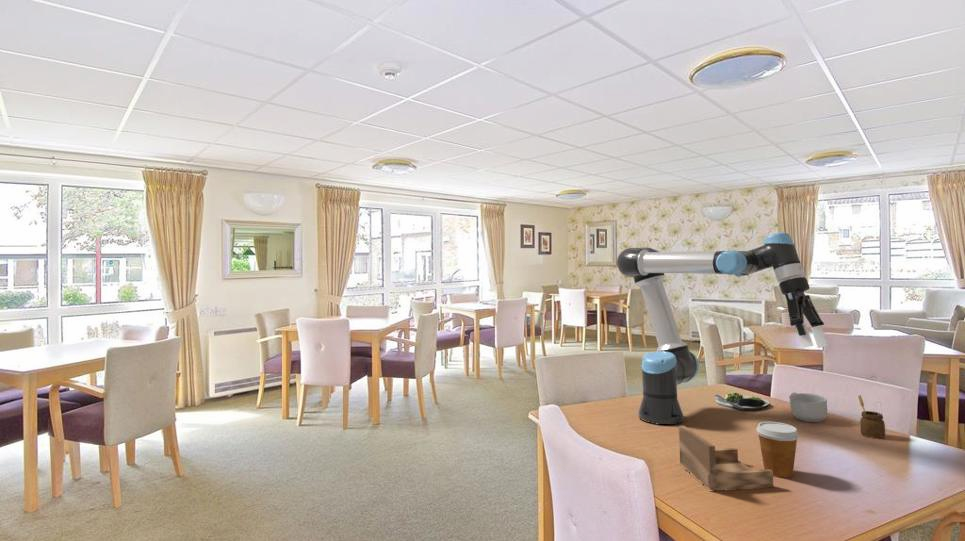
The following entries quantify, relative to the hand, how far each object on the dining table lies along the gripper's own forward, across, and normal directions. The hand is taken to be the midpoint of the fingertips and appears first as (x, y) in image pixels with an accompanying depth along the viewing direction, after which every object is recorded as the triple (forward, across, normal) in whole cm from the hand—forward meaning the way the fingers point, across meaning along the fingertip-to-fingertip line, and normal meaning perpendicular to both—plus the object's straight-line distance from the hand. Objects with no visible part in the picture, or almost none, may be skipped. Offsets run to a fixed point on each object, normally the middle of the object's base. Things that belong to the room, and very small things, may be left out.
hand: (815, 346), depth 139 cm
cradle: (+30, -37, +20) cm, 52 cm away
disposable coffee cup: (+31, -25, +11) cm, 41 cm away
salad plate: (+15, +30, +39) cm, 52 cm away
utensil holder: (+28, +24, 0) cm, 37 cm away
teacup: (+22, +29, +18) cm, 41 cm away
